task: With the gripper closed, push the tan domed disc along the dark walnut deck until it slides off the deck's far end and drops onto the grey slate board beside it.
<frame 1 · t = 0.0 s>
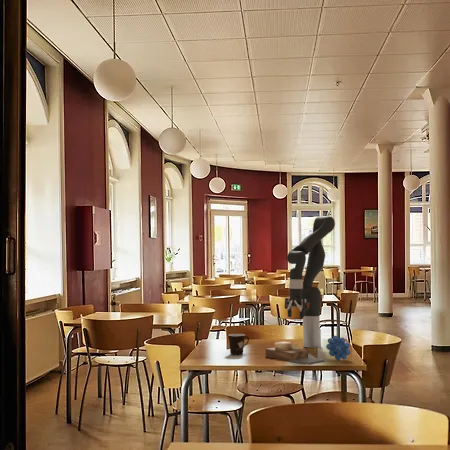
hand: (295, 317, 344), 17 cm above the table, tool pointing down, fingers open, 8 cm apart
tan domed disc: (283, 349, 320), point 4 cm above the table, touching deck
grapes: (338, 360, 309), on the table
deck: (286, 357, 318), on the table
coffee mug: (239, 354, 329), on the table
slate board: (307, 361, 306), on the table
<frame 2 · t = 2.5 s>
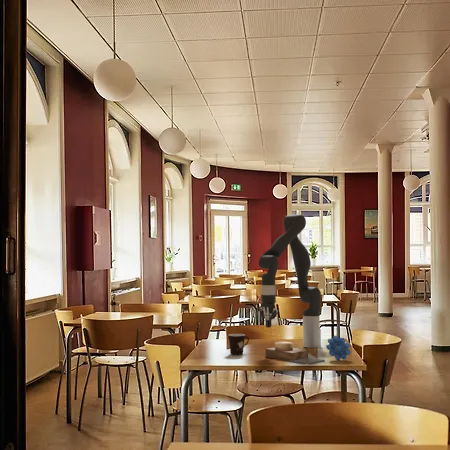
hand: (268, 327, 328), 14 cm above the table, tool pointing down, fingers closed
nothing on the table moved.
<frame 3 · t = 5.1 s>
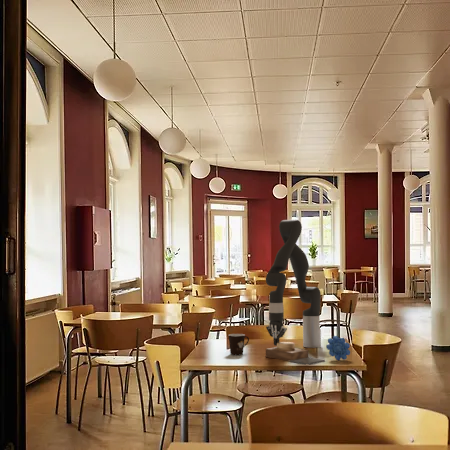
hand: (276, 345, 323), 5 cm above the table, tool pointing down, fingers closed
tan domed disc: (285, 349, 319), point 4 cm above the table, touching gripper
everything else where it was.
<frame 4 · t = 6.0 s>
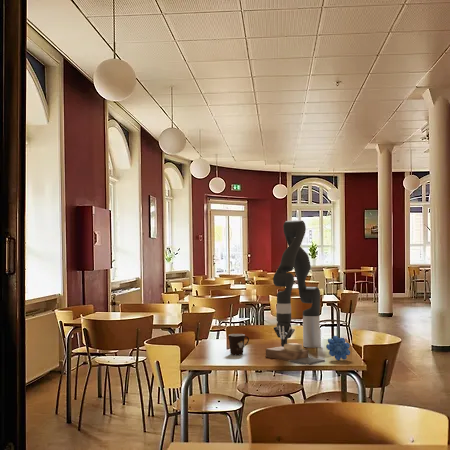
hand: (284, 346, 319), 5 cm above the table, tool pointing down, fingers closed
tan domed disc: (293, 350, 314), point 4 cm above the table, touching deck, gripper
everything else where it was.
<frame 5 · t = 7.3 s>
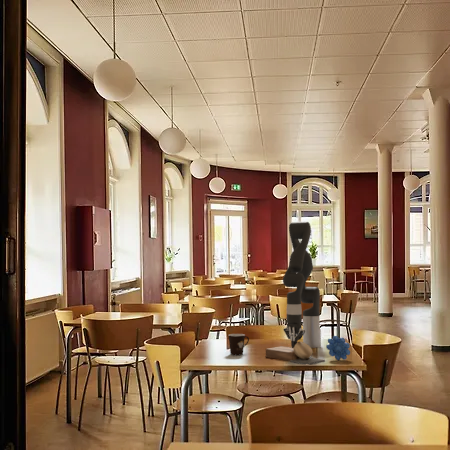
hand: (294, 348, 314), 5 cm above the table, tool pointing down, fingers closed
tan domed disc: (301, 352, 310), point 4 cm above the table, tilted 40°, touching gripper
everything else where it was.
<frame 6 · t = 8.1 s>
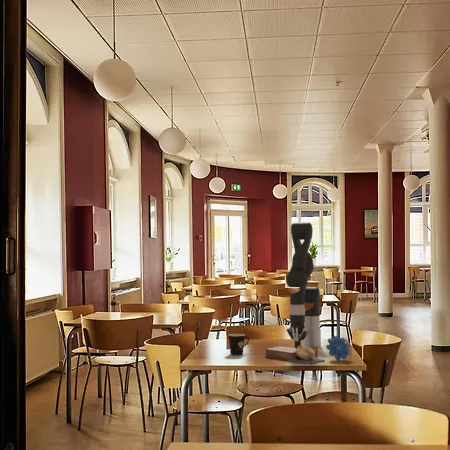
hand: (297, 348, 313), 5 cm above the table, tool pointing down, fingers closed
tan domed disc: (304, 355, 309), point 3 cm above the table, tilted 24°, touching gripper
everything else where it was.
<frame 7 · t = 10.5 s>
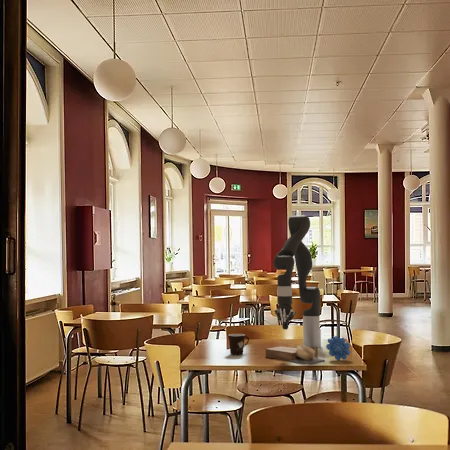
hand: (285, 329, 319), 14 cm above the table, tool pointing down, fingers closed
tan domed disc: (304, 355, 309), point 3 cm above the table, tilted 24°, touching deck, slate board
everything else where it was.
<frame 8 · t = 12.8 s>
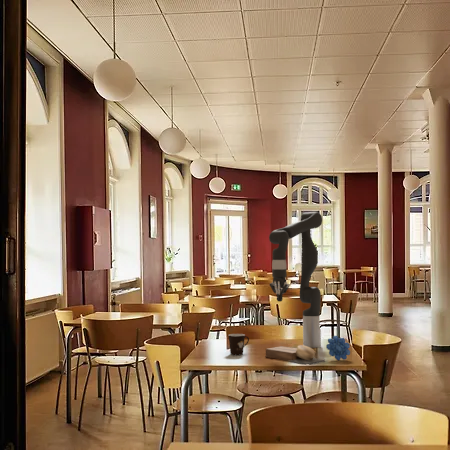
hand: (279, 301, 333), 27 cm above the table, tool pointing down, fingers closed
nothing on the table moved.
at the end: tan domed disc inside the target area (4.0 cm from its centre), point 2.6 cm above the table; tan domed disc touching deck, slate board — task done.
